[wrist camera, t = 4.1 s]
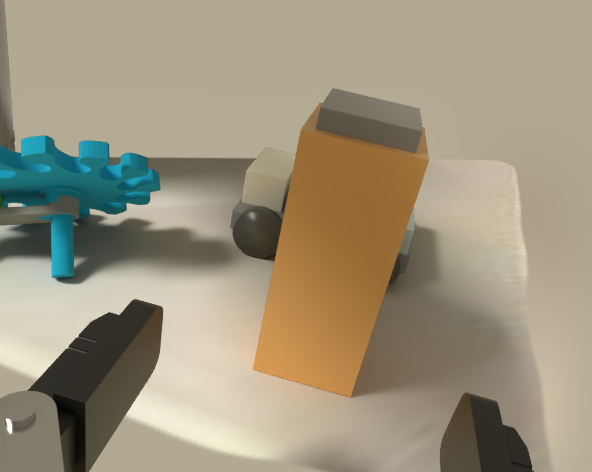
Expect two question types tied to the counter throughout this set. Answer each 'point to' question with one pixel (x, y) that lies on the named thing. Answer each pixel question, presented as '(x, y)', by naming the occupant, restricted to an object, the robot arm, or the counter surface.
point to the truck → (279, 209)
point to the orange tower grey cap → (340, 238)
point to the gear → (69, 189)
